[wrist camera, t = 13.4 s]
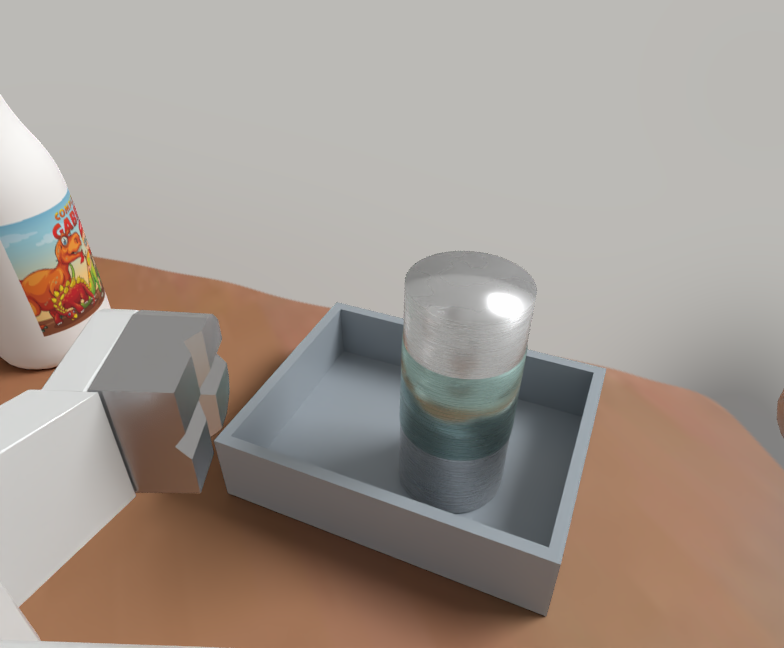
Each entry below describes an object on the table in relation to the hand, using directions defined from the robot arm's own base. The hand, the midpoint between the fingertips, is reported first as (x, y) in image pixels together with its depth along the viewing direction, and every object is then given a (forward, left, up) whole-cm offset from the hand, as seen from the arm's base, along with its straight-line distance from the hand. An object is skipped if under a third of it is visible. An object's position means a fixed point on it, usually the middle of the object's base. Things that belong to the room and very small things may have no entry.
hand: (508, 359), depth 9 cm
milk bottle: (-35, +15, -22) cm, 44 cm away
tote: (-7, +15, -21) cm, 27 cm away
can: (-5, +15, -21) cm, 26 cm away
